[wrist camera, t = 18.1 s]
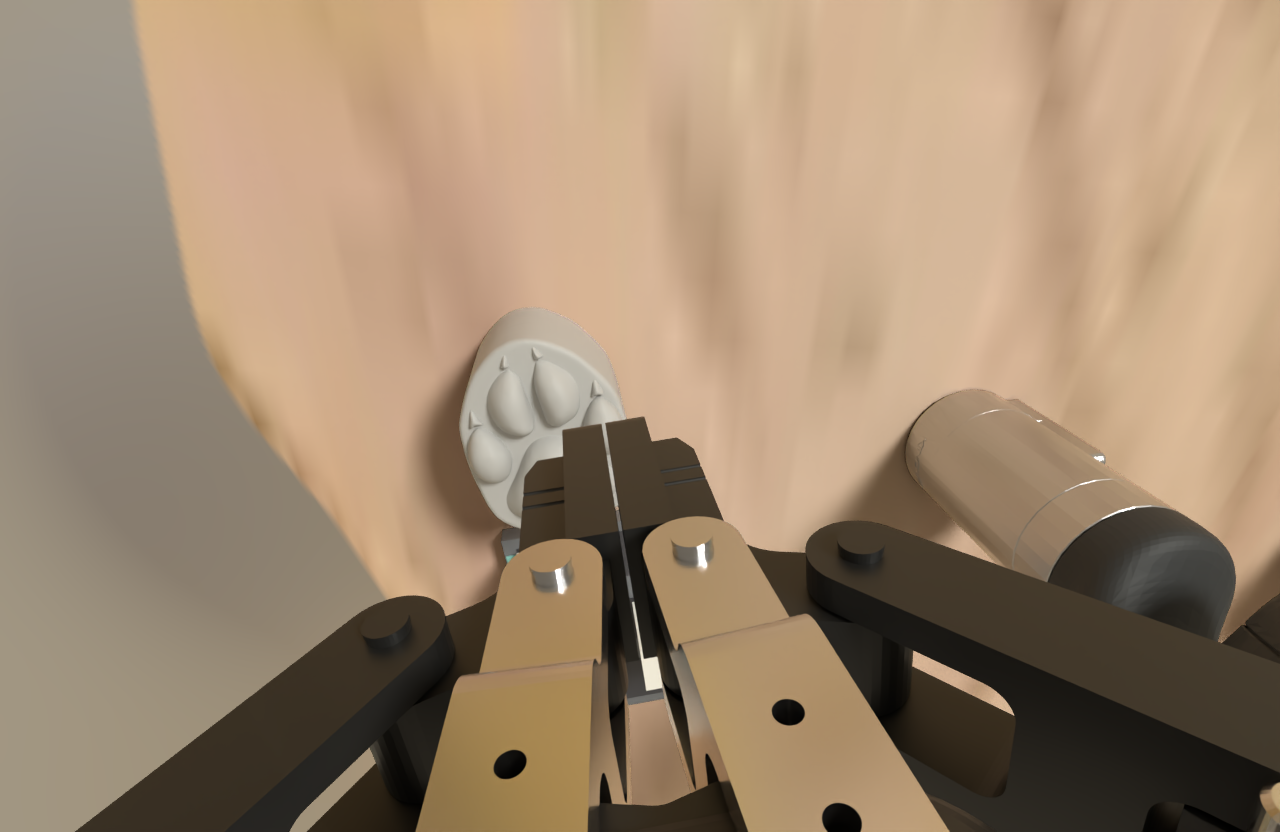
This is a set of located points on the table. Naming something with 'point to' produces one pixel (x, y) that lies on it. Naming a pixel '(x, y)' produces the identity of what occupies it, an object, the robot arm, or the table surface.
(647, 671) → the tab middle
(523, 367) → the paw print plaque
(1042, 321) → the table surface
